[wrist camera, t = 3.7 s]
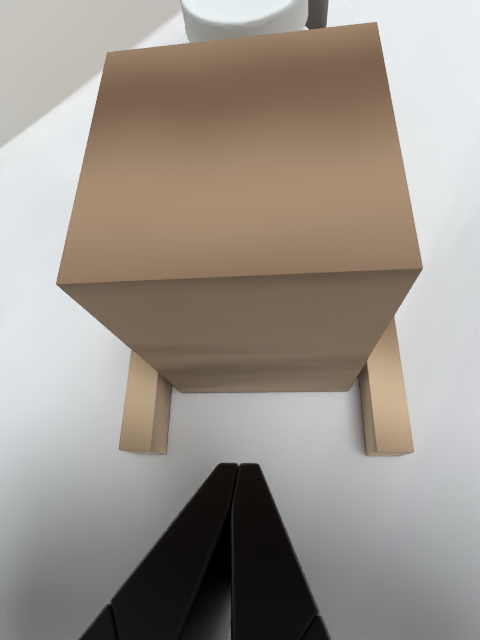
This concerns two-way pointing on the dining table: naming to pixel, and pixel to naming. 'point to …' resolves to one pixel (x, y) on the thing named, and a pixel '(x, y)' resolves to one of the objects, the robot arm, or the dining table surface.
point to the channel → (375, 381)
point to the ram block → (245, 210)
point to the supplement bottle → (242, 18)
